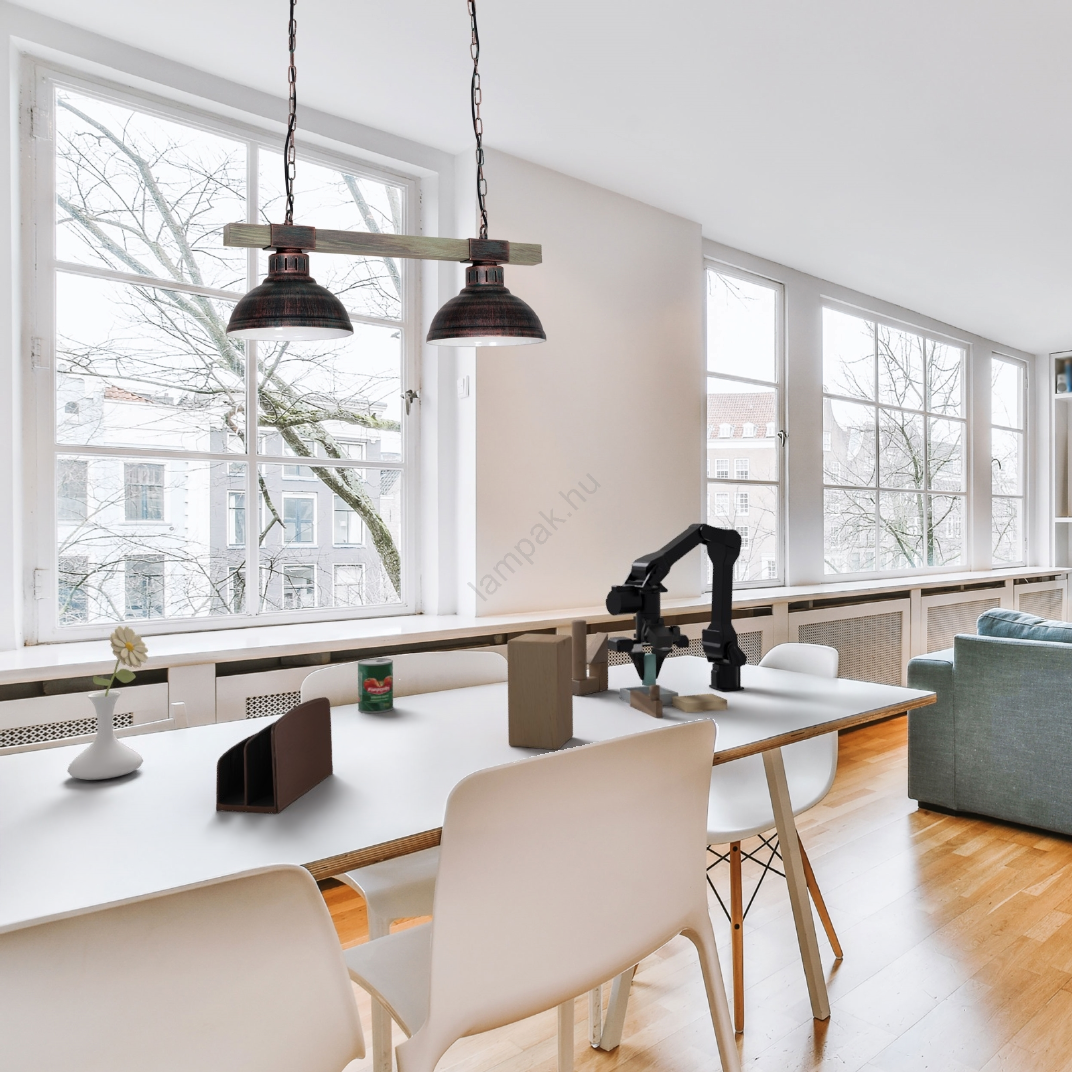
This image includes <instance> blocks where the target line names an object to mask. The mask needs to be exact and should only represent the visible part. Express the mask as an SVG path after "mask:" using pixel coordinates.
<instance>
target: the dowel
mask: <svg viewBox="0 0 1072 1072" xmlns="http://www.w3.org/2000/svg"><path fill="white" fill-rule="evenodd" d="M649 685H657V679H656V654H652V653H651V652H650V653H647V652H646V653H645V656H644V680H641V686H649Z"/></svg>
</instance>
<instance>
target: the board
mask: <svg viewBox="0 0 1072 1072" xmlns="http://www.w3.org/2000/svg"><path fill="white" fill-rule="evenodd" d="M671 705H672V707H674V708H677V709H678V710H679V711H683V712H685V713H686V714H687V713H695V712H696V713H698V712H709V711H720V710H721V711H722V710H723V711H724V710H728V699H726V698H724V697H721V696H718V695H717V694H714V693H704V694H701V693H700V694H690V695H688V694H687V695H678V696H676V697H672V704H671Z"/></svg>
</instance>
